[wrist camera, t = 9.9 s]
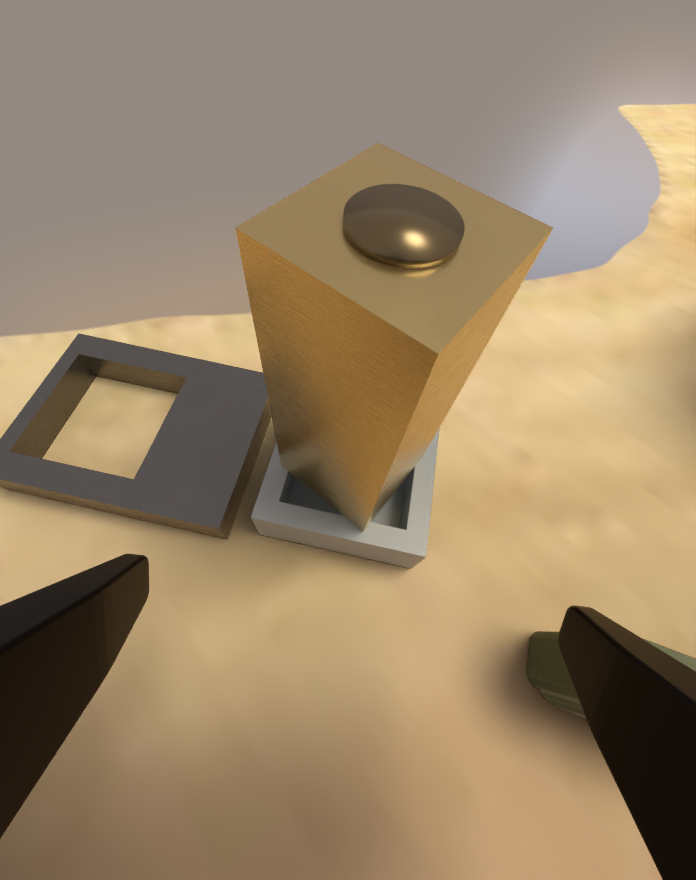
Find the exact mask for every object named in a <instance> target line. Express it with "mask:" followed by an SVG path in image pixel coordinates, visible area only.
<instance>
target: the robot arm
mask: <svg viewBox="0 0 696 880" xmlns="http://www.w3.org/2000/svg"><path fill="white" fill-rule="evenodd" d="M148 594H149V563H148V559H147V557H146V556H144V555H135V554H124V555H122V556H119V557H117V558H115V559H112V560H110V561H107V562H105V563H102V564H100V565H98V566H95V567H93V568H90V569H88V570H86V571H83V572H81V573H78V574H76V575H74V576H71V577H69V578H66V579H64V580H61V581H59V582H57V583H54V584H52V585H49V586H47V587H45V588H42V589H40V590H37V591H35V592H32V593H30V594H28V595H25V596H23V597H20V598H18V599H16V600H13V601H11V602H8V603H6V604H3V605H1V606H0V838H1V837H2V835H3V834H4V832H5V831H6V829H7V828H8V826H9V825H10V823H11V821H12V820H13V818H14V817H15V815H16V814H17V812H18V811H19V809H20V808H21V806H22V805H23V803H24V802H25V800H26V799H27V797H28V795H29V794H30V792H31V791H32V789H33V788H34V786H35V785H36V783H37V782H38V780H39V779H40V777H41V776H42V774H43V772H44V771H45V769H46V768H47V766H48V765H49V763H50V762H51V760H52V759H53V757H54V756H55V754H56V753H57V751H58V749H59V748H60V746H61V745H62V743H63V742H64V740H65V739H66V737H67V736H68V734H69V733H70V731H71V730H72V728H73V727H74V725H75V723H76V722H77V720H78V719H79V717H80V716H81V714H82V713H83V711H84V710H85V708H86V707H87V705H88V704H89V702H90V700H91V699H92V697H93V696H94V694H95V693H96V691H97V690H98V688H99V687H100V685H101V684H102V682H103V680H104V679H105V677H106V675H107V674H108V672H109V670H110V669H111V667H112V665H113V663H114V661H115V660H116V658H117V656H118V654H119V652H120V650H121V648H122V646H123V644H124V642H125V641H126V639H127V637H128V635H129V633H130V631H131V629H132V627H133V625H134V623H135V621H136V620H137V618H138V616H139V614H140V612H141V610H142V608H143V606H144V604H145V602H146V600H147V598H148ZM558 646H559V650H560V653H561V655H562V658H563V660H564V663H565V666H566V668H567V671H568V673H569V676H570V679H571V681H572V684H573V687H574V689H575V692H576V694H577V697H578V700H579V702H580V705H581V708H582V710H583V713H584V715H585V718H586V720H587V722H588V725H589V727H590V729H591V732H592V734H593V736H594V738H595V740H596V742H597V744H598V747H599V749H600V751H601V753H602V755H603V757H604V759H605V761H606V763H607V765H608V767H609V769H610V771H611V773H612V776H613V778H614V780H615V782H616V784H617V786H618V788H619V790H620V792H621V794H622V796H623V798H624V800H625V803H626V805H627V807H628V809H629V811H630V813H631V815H632V817H633V819H634V821H635V823H636V825H637V827H638V829H639V832H640V834H641V836H642V838H643V840H644V842H645V844H646V846H647V848H648V850H649V852H650V854H651V856H652V859H653V861H654V863H655V865H656V867H657V869H658V871H659V873H660V875H661V877H662V879H663V880H696V671H694V670H693V669H691V668H689V667H688V666H686V665H684V664H683V663H681V662H680V661H678V660H676V659H675V658H673V657H671V656H670V655H668V654H666V653H665V652H663V651H662V650H660V649H658V648H657V647H655V646H653V645H652V644H650V643H648V642H647V641H645V640H644V639H642V638H640V637H639V636H637V635H635V634H634V633H632V632H630V631H629V630H627V629H625V628H624V627H622V626H621V625H619V624H617V623H616V622H614V621H612V620H611V619H609V618H607V617H606V616H604V615H603V614H601V613H599V612H598V611H596V610H594V609H592V608H590V607H583V606H570V607H569V608H568V609H567V611H566V614H565V617H564V620H563V623H562V626H561V629H560V632H559V635H558Z"/></svg>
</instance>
